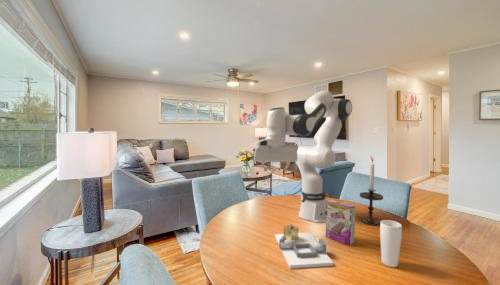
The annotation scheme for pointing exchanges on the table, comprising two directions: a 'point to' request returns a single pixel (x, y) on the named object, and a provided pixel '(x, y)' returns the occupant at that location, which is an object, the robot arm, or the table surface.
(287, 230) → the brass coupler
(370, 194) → the candlestick
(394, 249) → the white cup
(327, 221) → the candy bar box
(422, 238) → the table surface
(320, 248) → the shaft bench
